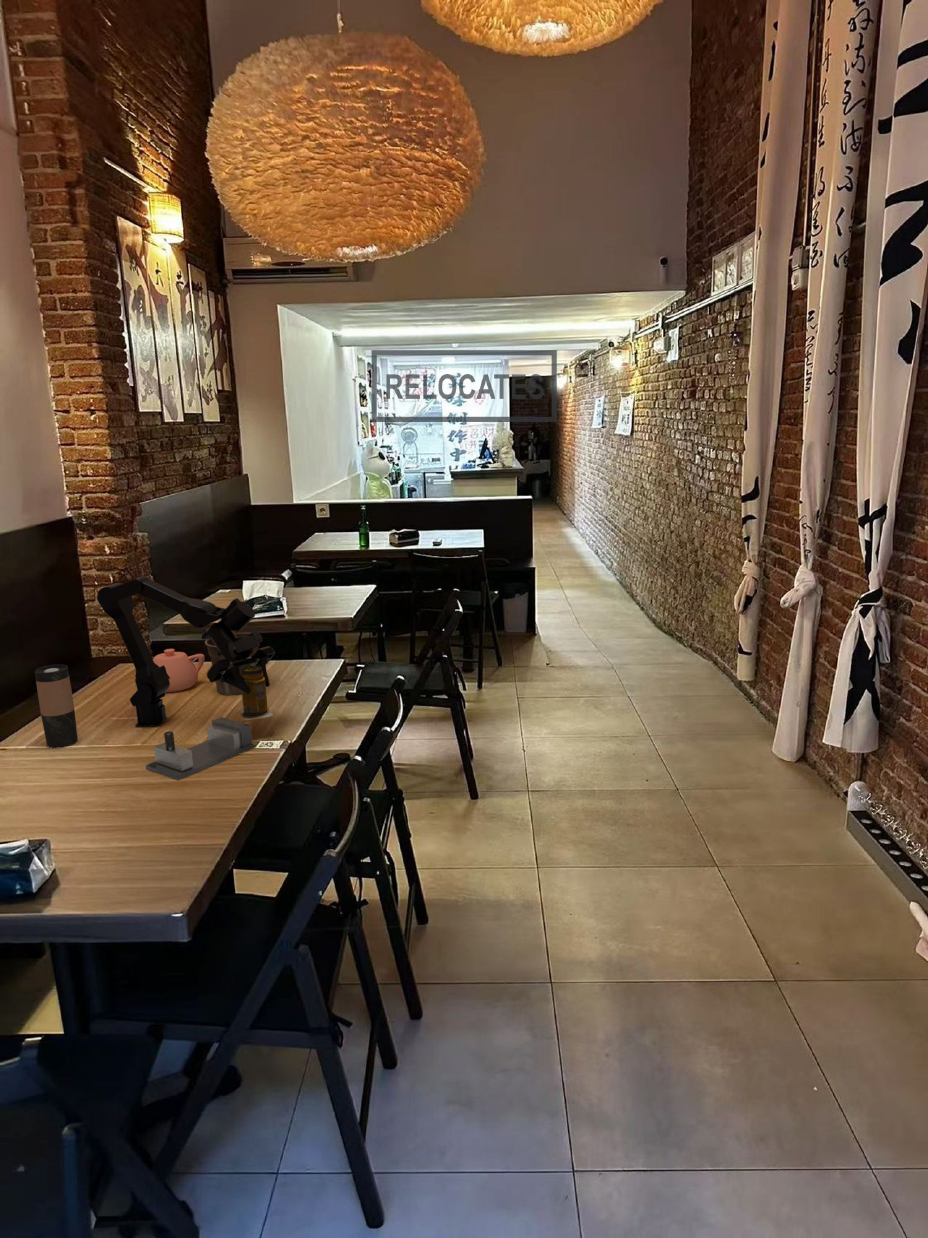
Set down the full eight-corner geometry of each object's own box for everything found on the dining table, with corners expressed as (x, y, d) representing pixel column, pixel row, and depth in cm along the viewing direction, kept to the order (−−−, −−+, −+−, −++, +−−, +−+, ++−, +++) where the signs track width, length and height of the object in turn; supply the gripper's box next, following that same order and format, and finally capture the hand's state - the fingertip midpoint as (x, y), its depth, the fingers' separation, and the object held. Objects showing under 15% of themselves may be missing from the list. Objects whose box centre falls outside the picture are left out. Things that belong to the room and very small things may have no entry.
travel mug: (85, 739, 202) (74, 665, 197) (59, 750, 195) (48, 674, 191) (65, 735, 205) (54, 663, 201) (39, 746, 198) (27, 671, 194)
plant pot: (256, 697, 232) (251, 645, 229) (202, 698, 233) (197, 646, 229) (270, 680, 248) (266, 631, 244) (220, 682, 248) (215, 633, 245)
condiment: (266, 706, 207) (262, 663, 204) (273, 716, 199) (269, 671, 196) (238, 711, 204) (234, 667, 201) (244, 721, 196) (240, 676, 193)
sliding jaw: (182, 771, 177) (178, 738, 176) (155, 762, 183) (151, 730, 181) (193, 766, 180) (189, 734, 178) (166, 758, 185) (162, 726, 184)
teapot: (129, 698, 235) (124, 659, 232) (137, 683, 249) (133, 646, 246) (205, 691, 239) (201, 653, 236) (209, 677, 254) (205, 641, 251)
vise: (178, 780, 176) (175, 755, 174) (146, 769, 182) (143, 745, 181) (253, 747, 193) (251, 725, 192) (222, 738, 200) (220, 716, 199)
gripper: (209, 631, 191) (243, 681, 188) (267, 616, 206) (300, 662, 203) (192, 657, 197) (225, 706, 194) (250, 641, 212) (281, 686, 209)
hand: (259, 689), depth 199 cm, fingers closed on condiment, 6 cm apart
